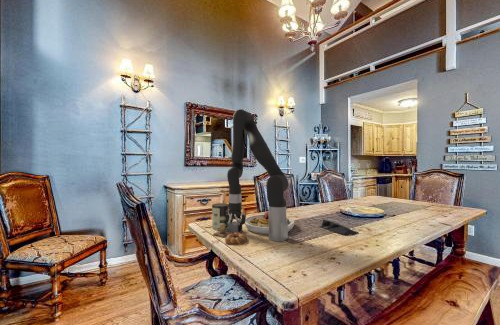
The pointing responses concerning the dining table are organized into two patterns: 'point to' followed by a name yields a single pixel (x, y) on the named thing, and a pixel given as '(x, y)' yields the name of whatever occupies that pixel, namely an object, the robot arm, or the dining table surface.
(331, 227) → the dark slate chunk
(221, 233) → the brown base with peg
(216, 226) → the coffee can
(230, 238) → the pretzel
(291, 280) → the dining table surface
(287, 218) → the bowl
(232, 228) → the matte grey box
